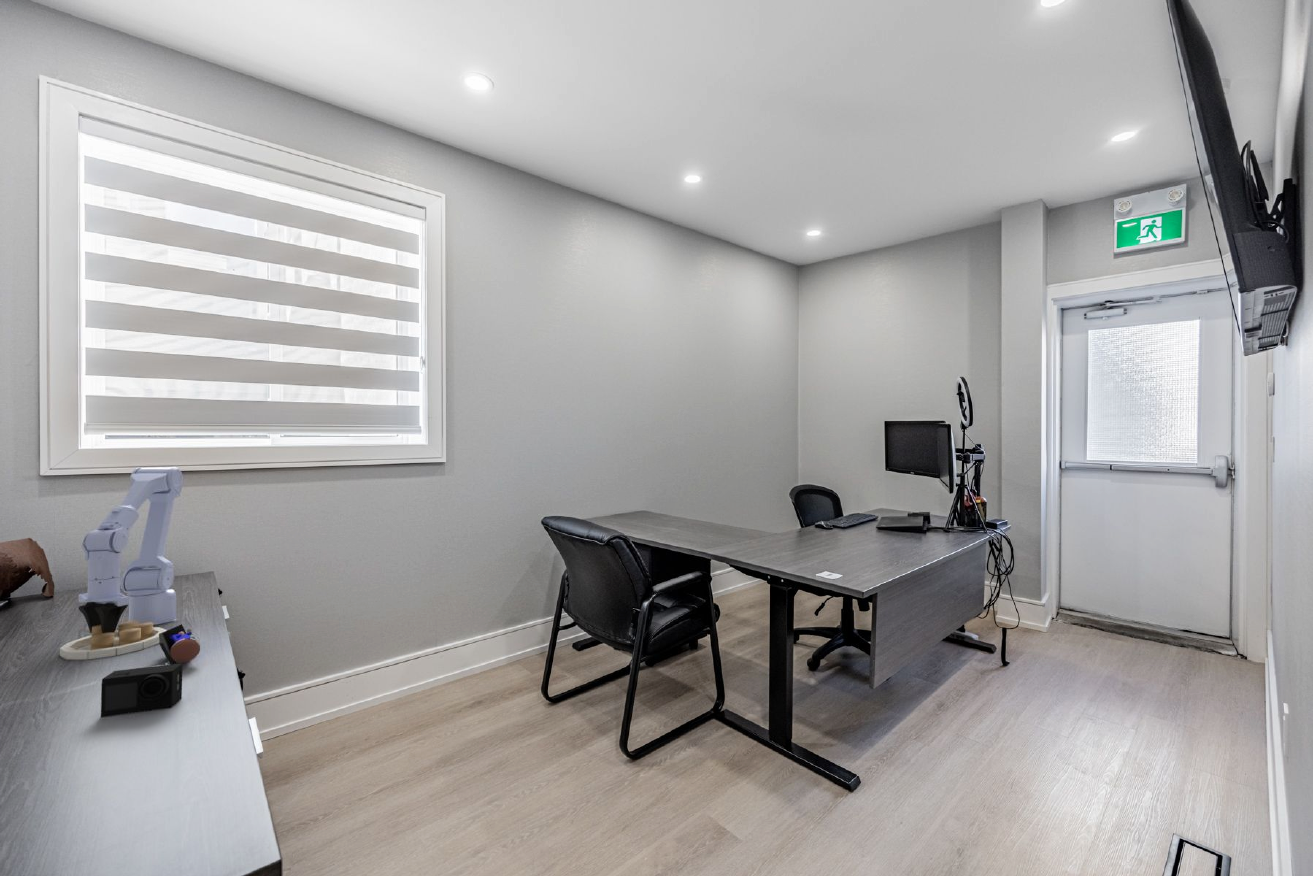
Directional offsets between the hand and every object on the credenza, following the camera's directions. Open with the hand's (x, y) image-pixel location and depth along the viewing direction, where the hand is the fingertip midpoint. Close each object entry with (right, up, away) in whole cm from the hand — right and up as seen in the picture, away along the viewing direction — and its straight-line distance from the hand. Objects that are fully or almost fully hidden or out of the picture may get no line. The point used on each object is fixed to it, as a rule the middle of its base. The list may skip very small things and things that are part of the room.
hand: (102, 632), depth 134 cm
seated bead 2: (+9, -3, -2) cm, 10 cm away
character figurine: (+28, -3, -10) cm, 30 cm away
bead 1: (0, -2, 0) cm, 2 cm away
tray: (+5, -3, -1) cm, 6 cm away
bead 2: (+3, -3, +3) cm, 5 cm away
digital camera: (+41, -3, -33) cm, 53 cm away
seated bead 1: (+6, -3, -6) cm, 9 cm away
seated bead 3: (+8, -3, +2) cm, 9 cm away
